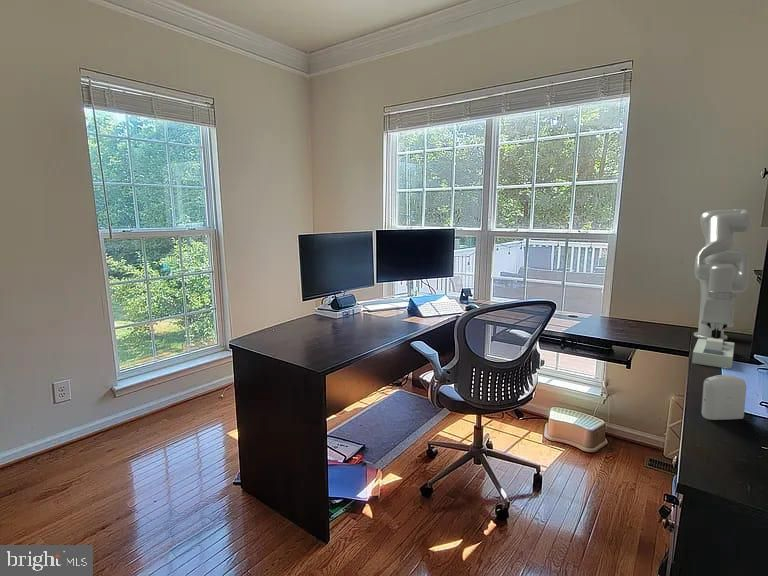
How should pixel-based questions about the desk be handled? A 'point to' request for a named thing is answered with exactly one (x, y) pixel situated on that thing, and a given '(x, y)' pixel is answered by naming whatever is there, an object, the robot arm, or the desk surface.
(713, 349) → the slate key
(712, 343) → the white key
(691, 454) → the desk surface
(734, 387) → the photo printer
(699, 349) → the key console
